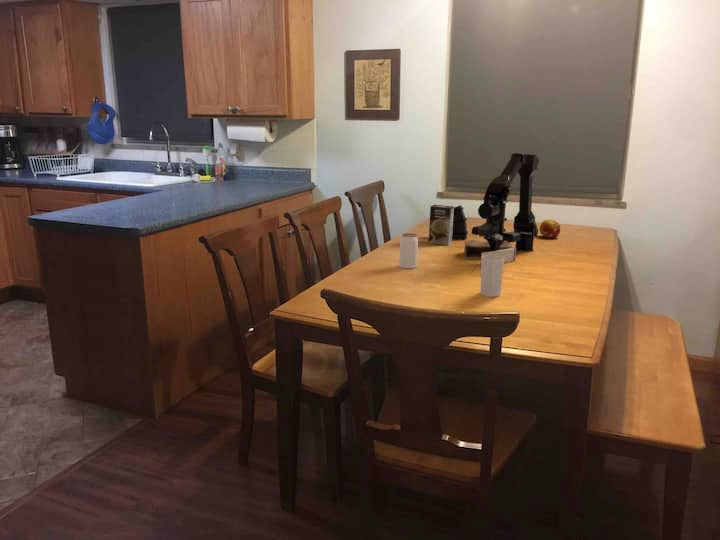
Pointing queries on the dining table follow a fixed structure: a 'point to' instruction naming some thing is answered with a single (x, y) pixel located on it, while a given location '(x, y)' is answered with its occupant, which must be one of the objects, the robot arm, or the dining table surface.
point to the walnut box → (481, 248)
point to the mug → (491, 275)
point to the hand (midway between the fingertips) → (493, 255)
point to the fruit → (550, 228)
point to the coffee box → (441, 224)
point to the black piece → (459, 224)
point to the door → (503, 254)
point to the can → (408, 251)
